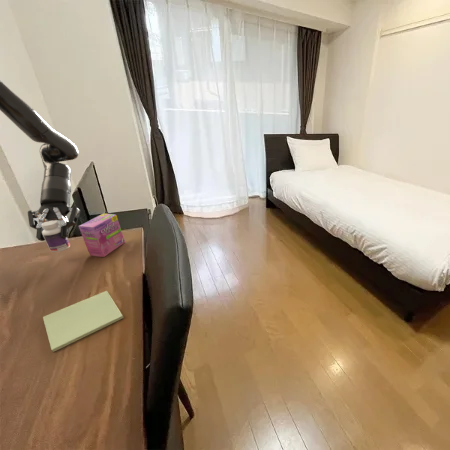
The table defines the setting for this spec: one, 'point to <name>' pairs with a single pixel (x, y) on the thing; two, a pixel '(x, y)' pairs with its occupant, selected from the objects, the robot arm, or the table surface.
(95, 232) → the box
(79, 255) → the table surface
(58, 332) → the notepad
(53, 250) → the pill bottle
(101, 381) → the table surface
